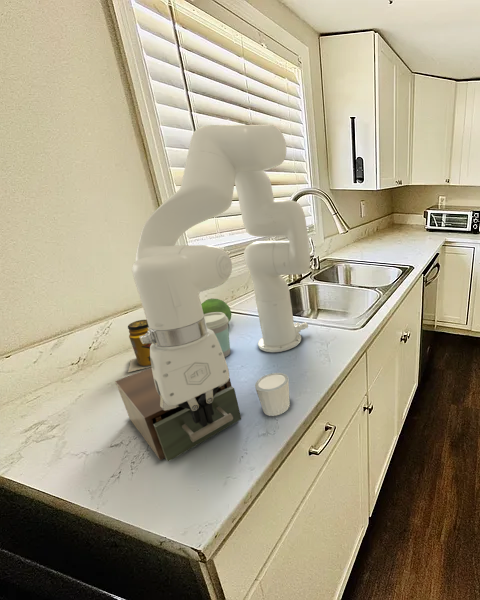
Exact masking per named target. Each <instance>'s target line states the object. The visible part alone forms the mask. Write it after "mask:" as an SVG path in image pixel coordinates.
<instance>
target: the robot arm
mask: <svg viewBox="0 0 480 600" xmlns="http://www.w3.org/2000/svg"><path fill="white" fill-rule="evenodd" d="M286 156H287V142H286V139H285V135H284V134H283V132H282V131H281V130H280V129H279V128H278V127H277V126H276V125H274V124H209V125H207V124H206V125H203V126H202V125H201V126H200V127H198V128H196V129H195V130H194V131H193V133H192V135H191V138H190V142H189V147H188V151H187V156H186V161H185V166H184V171H183V175H182V179H181V184H180V187H179V189H178V190H177V191H176V192H175V193H173V194H171V196H169V197H168V198H167V199H166V200H164V201H163V203H161V204H160V205H159V206H158V207H157V209H155V210H154V211H153V212H152V213H151V214H150V215H149V217H148V218H147V219H146V221H145V222H144V224H143V225H142V228H141V231H140V236H139V239H138V243H137V247H136V253H135V261H134V262H133V264H132V266H131V273H132V277H133V281H134V283H135V287H136V290H137V293H138V297H139V299H140V303H141V307H142V309H143V312H144V315H145V320H147V322H148V325H149V327H148V330H149V331H148V333H145V335H142V336H140V340H141V342H142V344H145V343H151V342H152V343H153V344H151V346H150V360H151V367H150V368H152V373H153V378H154V382H155V386H156V390H157V392H158V394H159V396H160V407H161V408H162V409H163V410H165V411H166V410H170V409H174V408H176V407H183V408H187V409H190V412H191V415H192V419H193V421H194V422H195V423H196V424H197V423H199V424H200V425H202V426H203V427H205V426H207V423H208V424H209V423H210V424H211V423H212V422H213V419H212V415H214V411H213V407H212V401H213V397H214V395H215V393H216V392H217V390H218V388H219V387H221V386H223V385H224V384H225V383H227V382H228V381H229V378H230V371H229V366H228V364H227V361H226V357H224V354H223V352H222V349H221V346H220V344H219V342H218V339H217V337H216V335H215V333H214V332H213V331H212V330H210V329H207V326H206V322H205V318H204V314H203V309H202V305H201V304H202V302H201V297H200V294H201V293H203V292H205V291H208V290H213V289H215V288H218V287H221V286H222V285H224V284H225V283H226V282H227V281H228V279H229V278H230V277H231V275H232V272H233V271H232V270H233V262H232V259H231V257H230V255H229V253H227V252H226V251H225V250H224V249H222V248H221V247H218V246H215V245H207V244H205V245H204V244H199V245H195V244H193V245H192V244H191V245H189V244H187V245H186V244H184V245H183V244H181V245H180V244H179V245H178V244H177V242H178V240H179V239H180V237H182V235H184V233H185V232H187V231H188V230H190V229H192V227H194V226H197V225H198V224H201V223H203V222H205V221H208V220H210V219H212V218H214V217H217V216H219V215H221V214H223V213H225V212H226V211H227V210H229V209H230V207H231V206H232V203H233V197H234V189H236V190H235V191H236V193H237V199H238V204H239V208H240V215H241V219H242V223H243V227H244V229H245V231H246V233H247V234H249V236H252V237H258V238H274V237H276V238H280V237H283V238H284V237H286V238H287V239H288V240H259V241H254V242H251V243H249V244H248V245H246V247H245V249H244V252H243V260H244V261H243V262H244V264H245V267H246V269H247V272H248V274H249V277H250V280H251V284H252V288H253V291H254V292H253V293H254V298H255V303H256V309H257V314H258V320H259V326H260V331H261V336H262V337H260V339H259V340H258V343H257V345H258V349H259V350H261V351H263V352H266V353H281V352H285V351H289V350H291V349H294V348H295V347H297V346H298V345H299V344H300V343H301V342H302V335H301V333H300V332H301V331H303V330H305V329H307V328H309V324H308V322H307V321H305V322H302V323H300V322H299V321H298V322H295V321H294V315H293V308H292V307H293V306H292V301H291V293H290V287H289V284H288V283H287V282H286V280H285V279H284V278H283V277H282V276H287V275H288V276H291V275H292V276H293V275H304V274H306V273H307V272H308V271H309V270H310V268H311V251H310V244H309V243H310V242H309V236H308V227H307V220H306V215H305V211H304V209H303V207H302V205H301V204H300V203H299V202H297V201H295V200H291V199H277V200H276V199H275V198H274V193H273V188H272V181H271V179H270V177H269V175H268V174H267V173H266V172H265V171H268V170H272V169H274V168H276V167H278V166H281V165H282V164H283V163H284V161H285V160H286ZM176 244H177V245H176ZM199 395H200V398H199V399H198V402H197V401H196V399H195V397H197V396H199Z"/></svg>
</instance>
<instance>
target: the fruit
mask: <svg viewBox="0 0 480 600" xmlns="http://www.w3.org/2000/svg"><path fill="white" fill-rule="evenodd" d="M201 305H202V309H203V314H207V313H212V312H222V313H224V314H225V315H226V317H227V318H228V320H229V321H228V323H229V322H231V319H232V315H233V314H232V311H231V308H230V306H229V304H227V302H226V301H223V300H222V299H218V298H208V299H206V300H204V301H203V302H201Z"/></svg>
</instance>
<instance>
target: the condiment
mask: <svg viewBox="0 0 480 600" xmlns="http://www.w3.org/2000/svg"><path fill="white" fill-rule="evenodd" d="M148 327H149V325H148V322H147V319H139V320H135V321H133V322H130V323H129V324H128V325H127V329H128V333H129V335H128V339H129V340H130V344H131V346H132V349H133V352H134V355H135V358H132V359H129V366H128V370H127V373H131V372H135V371H136V372H137V371H139V370H145V369H149V368H152V367H151V360H150V346H151V344H153V343H152V342H151V343H145V344H142V342H141V340H140V336H142V335H145V333H148V331H149V330H148Z"/></svg>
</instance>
